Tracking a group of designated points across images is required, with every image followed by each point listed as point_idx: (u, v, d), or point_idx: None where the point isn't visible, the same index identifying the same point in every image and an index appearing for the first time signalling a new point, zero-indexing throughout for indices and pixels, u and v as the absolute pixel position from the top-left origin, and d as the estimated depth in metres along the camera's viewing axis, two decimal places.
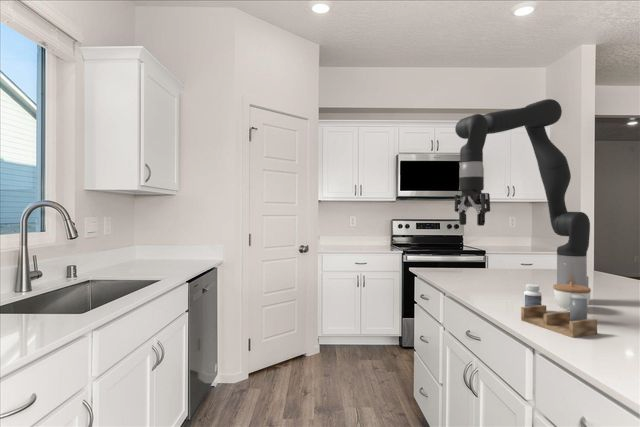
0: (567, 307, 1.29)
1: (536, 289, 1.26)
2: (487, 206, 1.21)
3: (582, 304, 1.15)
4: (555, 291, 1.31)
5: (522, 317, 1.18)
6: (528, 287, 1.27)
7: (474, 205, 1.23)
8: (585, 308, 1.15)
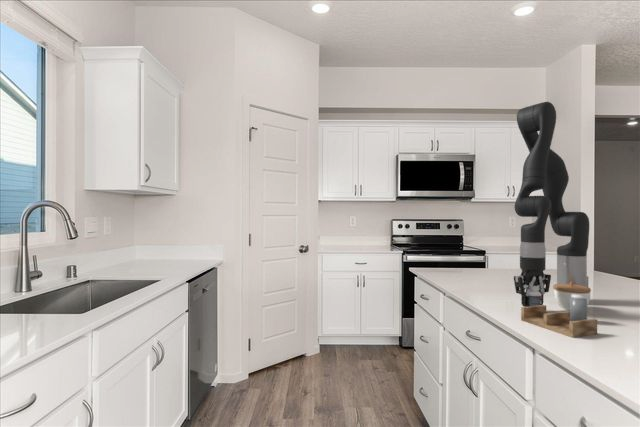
0: (567, 307, 1.29)
1: (536, 289, 1.26)
2: None
3: (582, 304, 1.15)
4: (555, 291, 1.31)
5: (522, 317, 1.18)
6: None
7: (542, 286, 1.27)
8: (585, 308, 1.15)
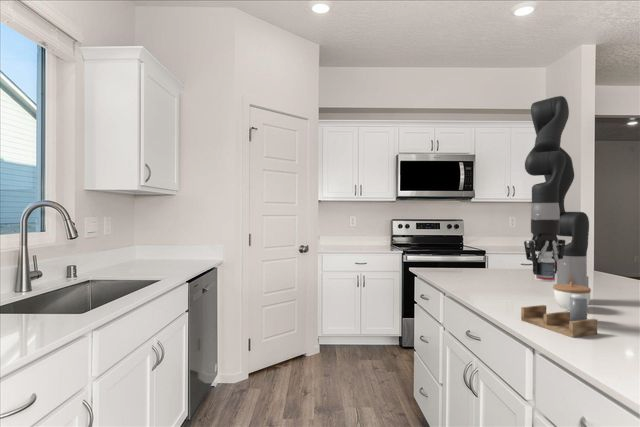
0: (567, 307, 1.29)
1: (549, 255, 1.14)
2: None
3: (582, 304, 1.15)
4: (555, 291, 1.31)
5: (522, 317, 1.18)
6: None
7: (556, 252, 1.15)
8: (585, 308, 1.15)
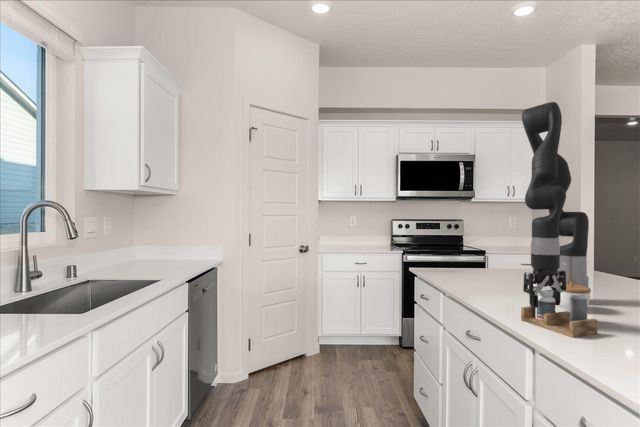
0: (567, 307, 1.29)
1: (549, 294, 1.14)
2: (558, 283, 1.18)
3: (582, 304, 1.15)
4: None
5: (522, 317, 1.18)
6: (540, 292, 1.15)
7: (558, 284, 1.15)
8: (585, 308, 1.15)
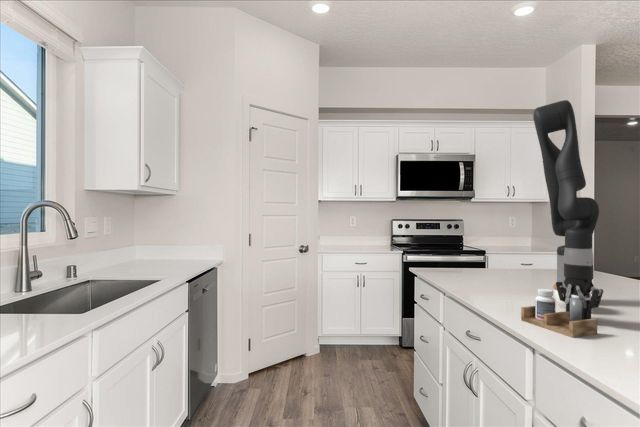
0: None
1: (549, 294, 1.14)
2: None
3: None
4: (555, 291, 1.31)
5: (522, 317, 1.18)
6: (540, 292, 1.15)
7: None
8: None
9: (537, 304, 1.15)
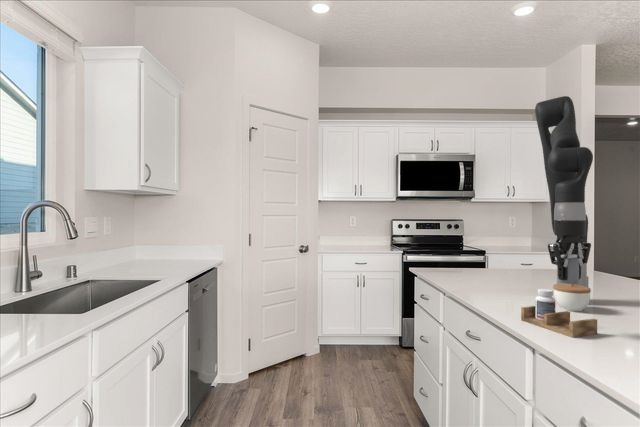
0: (567, 307, 1.29)
1: (549, 294, 1.14)
2: None
3: None
4: (555, 291, 1.31)
5: (522, 317, 1.18)
6: (540, 292, 1.15)
7: (581, 255, 1.07)
8: None
9: (537, 304, 1.15)
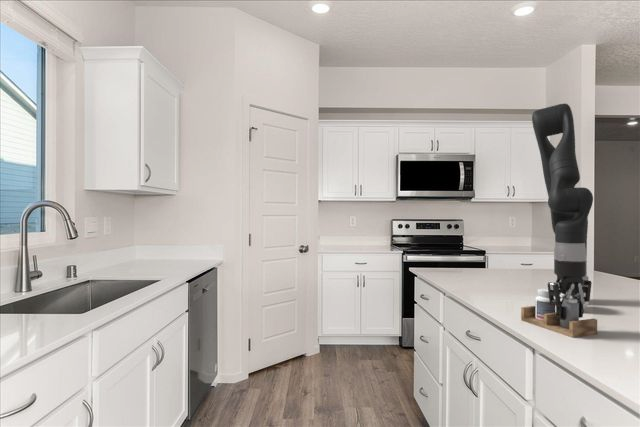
0: None
1: None
2: None
3: None
4: None
5: (522, 317, 1.18)
6: (540, 292, 1.15)
7: (582, 294, 1.07)
8: None
9: (537, 304, 1.15)
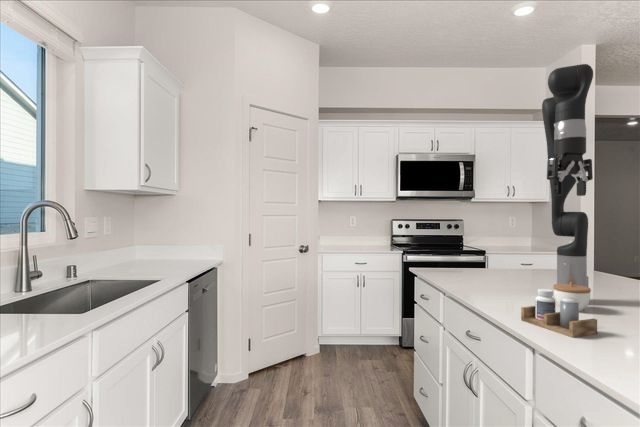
0: None
1: (549, 294, 1.14)
2: None
3: (561, 307, 1.08)
4: (555, 291, 1.31)
5: (522, 317, 1.18)
6: (540, 292, 1.15)
7: (584, 172, 1.07)
8: (563, 312, 1.07)
9: (537, 304, 1.15)
